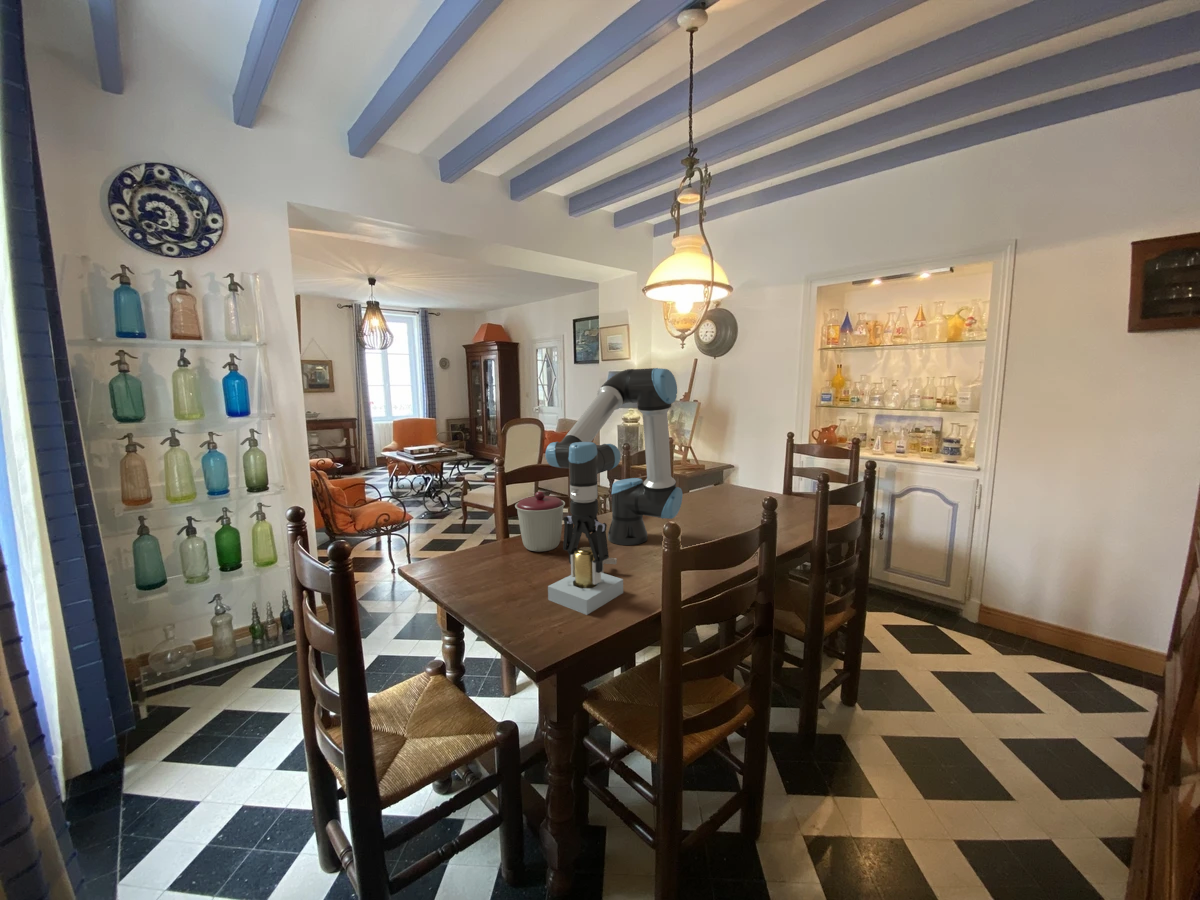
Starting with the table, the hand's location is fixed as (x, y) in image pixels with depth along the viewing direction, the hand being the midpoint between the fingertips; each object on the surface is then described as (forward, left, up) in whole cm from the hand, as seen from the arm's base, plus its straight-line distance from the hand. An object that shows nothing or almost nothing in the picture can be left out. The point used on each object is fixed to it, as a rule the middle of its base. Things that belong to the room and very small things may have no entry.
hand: (585, 578), depth 133 cm
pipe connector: (-15, -7, -6) cm, 18 cm away
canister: (-22, -40, -6) cm, 46 cm away
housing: (0, 0, -6) cm, 6 cm away
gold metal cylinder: (0, 0, -5) cm, 5 cm away
